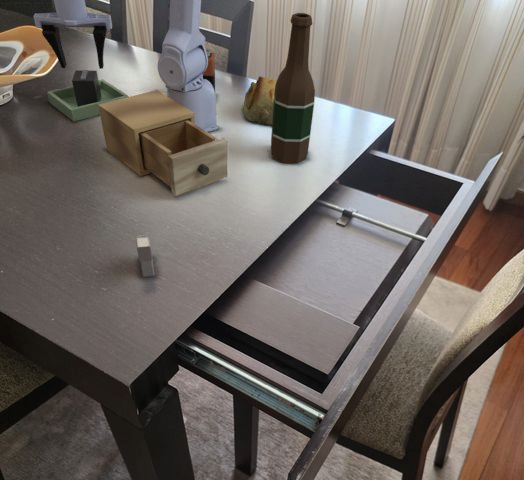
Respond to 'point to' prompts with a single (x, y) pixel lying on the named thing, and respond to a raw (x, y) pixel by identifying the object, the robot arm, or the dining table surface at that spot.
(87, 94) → the black rectangular block
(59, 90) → the tray
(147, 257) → the grey upright block
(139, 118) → the cabinet
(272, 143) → the beer bottle
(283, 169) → the dining table surface
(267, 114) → the pastry
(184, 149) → the drawer
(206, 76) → the battery
